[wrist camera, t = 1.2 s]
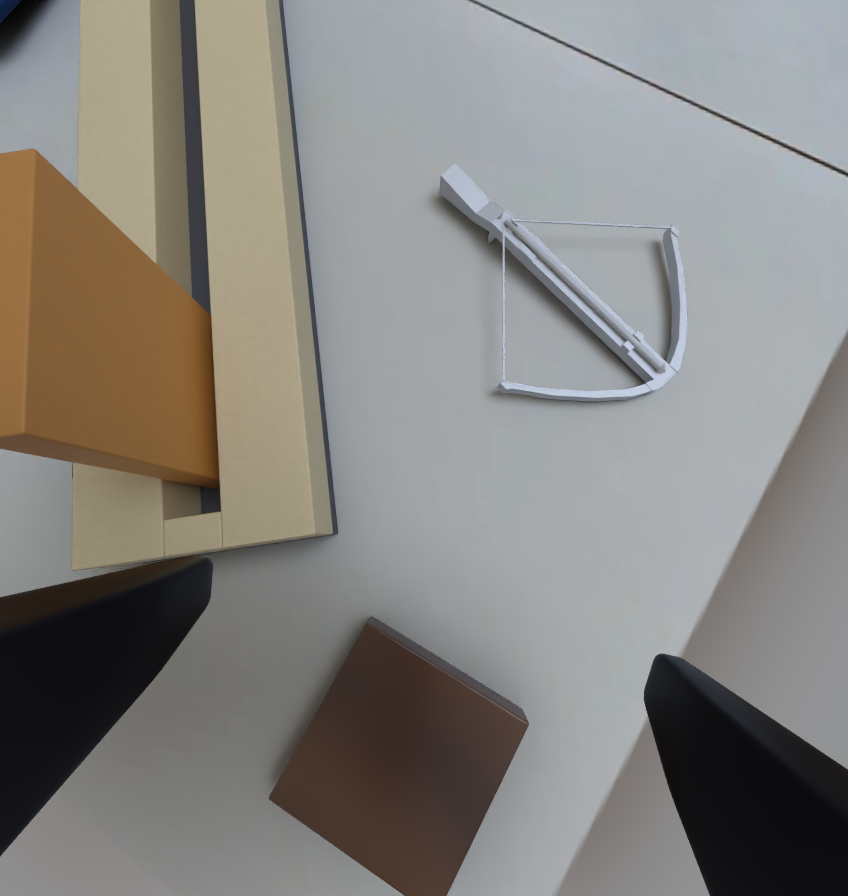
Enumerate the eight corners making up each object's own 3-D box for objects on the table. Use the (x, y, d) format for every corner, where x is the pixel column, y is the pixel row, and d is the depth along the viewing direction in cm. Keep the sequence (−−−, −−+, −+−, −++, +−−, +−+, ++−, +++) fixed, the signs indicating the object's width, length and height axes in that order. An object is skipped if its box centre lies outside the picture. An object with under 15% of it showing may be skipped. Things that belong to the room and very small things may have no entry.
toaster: (338, 533, 21) (315, 534, 17) (123, 566, 21) (51, 573, 17) (276, -64, 29) (250, -157, 25) (118, -39, 29) (68, -129, 25)
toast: (239, 484, 21) (23, 433, 10) (211, 489, 21) (-37, 442, 10) (230, 333, 22) (34, 147, 11) (204, 337, 22) (-17, 155, 11)
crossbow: (730, 312, 23) (760, 293, 21) (570, 469, 22) (585, 464, 20) (524, 123, 25) (534, 88, 23) (363, 258, 24) (358, 234, 22)
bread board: (436, 887, 18) (436, 919, 17) (280, 779, 19) (267, 799, 18) (523, 708, 19) (530, 723, 18) (372, 615, 20) (367, 622, 19)
